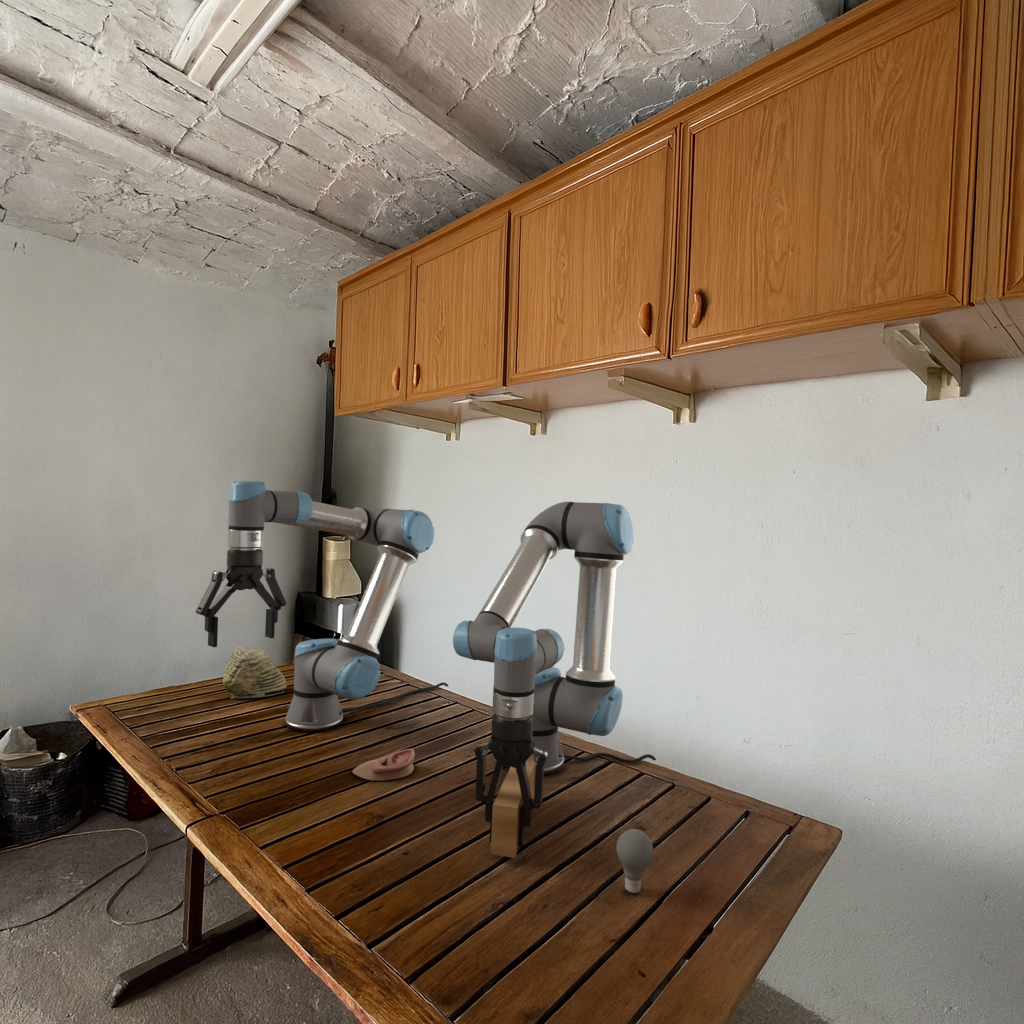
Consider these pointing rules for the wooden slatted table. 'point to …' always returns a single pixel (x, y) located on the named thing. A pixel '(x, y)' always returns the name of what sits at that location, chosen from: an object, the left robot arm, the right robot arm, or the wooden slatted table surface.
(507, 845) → the bar
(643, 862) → the light bulb
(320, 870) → the wooden slatted table surface
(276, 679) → the fossil
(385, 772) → the anatomical model
